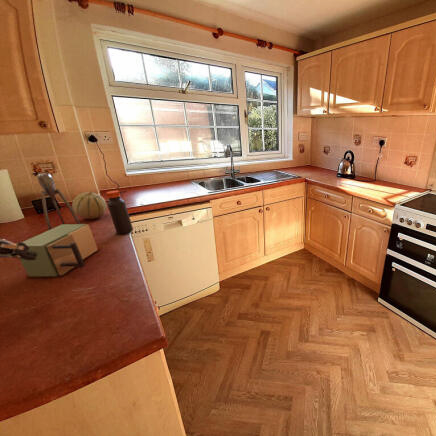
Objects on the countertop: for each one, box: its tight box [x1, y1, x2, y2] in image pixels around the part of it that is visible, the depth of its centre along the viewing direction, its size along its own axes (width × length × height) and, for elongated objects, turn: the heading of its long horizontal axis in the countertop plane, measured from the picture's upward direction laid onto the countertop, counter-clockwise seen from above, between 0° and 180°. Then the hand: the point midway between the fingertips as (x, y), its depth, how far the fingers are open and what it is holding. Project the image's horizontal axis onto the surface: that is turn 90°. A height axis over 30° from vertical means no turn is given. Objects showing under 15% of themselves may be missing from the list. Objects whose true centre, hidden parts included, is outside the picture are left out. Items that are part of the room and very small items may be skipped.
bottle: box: [105, 190, 134, 235], centre depth 114 cm, size 7×7×20 cm
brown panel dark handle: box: [46, 234, 86, 276], centre depth 86 cm, size 9×9×12 cm
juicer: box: [36, 172, 81, 230], centre depth 111 cm, size 10×11×30 cm
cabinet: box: [18, 223, 99, 278], centre depth 90 cm, size 11×18×12 cm, turn 179°
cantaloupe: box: [71, 191, 108, 220], centre depth 134 cm, size 15×15×15 cm
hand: (33, 256), depth 69 cm, fingers closed
